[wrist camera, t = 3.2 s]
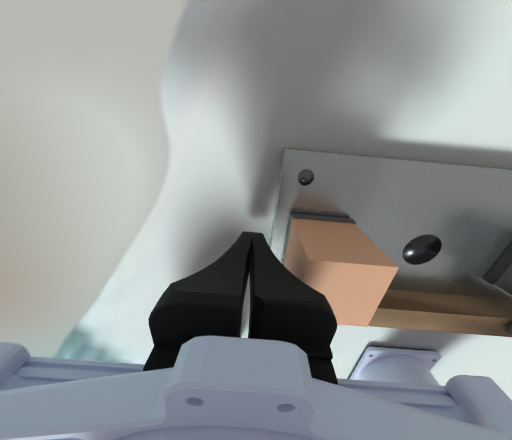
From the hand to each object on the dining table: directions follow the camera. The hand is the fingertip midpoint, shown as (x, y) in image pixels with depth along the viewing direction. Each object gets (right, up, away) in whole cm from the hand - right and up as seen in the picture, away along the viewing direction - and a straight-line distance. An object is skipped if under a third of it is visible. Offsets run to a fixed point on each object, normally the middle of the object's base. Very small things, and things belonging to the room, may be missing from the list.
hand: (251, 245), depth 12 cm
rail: (+12, -5, +4) cm, 14 cm away
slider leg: (+4, -1, +2) cm, 5 cm away
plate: (+12, 0, +2) cm, 13 cm away
